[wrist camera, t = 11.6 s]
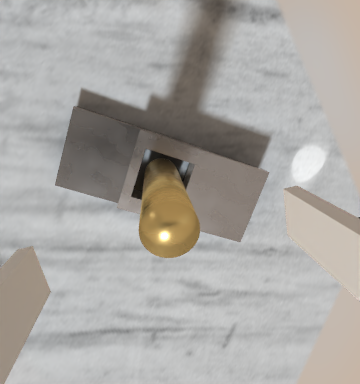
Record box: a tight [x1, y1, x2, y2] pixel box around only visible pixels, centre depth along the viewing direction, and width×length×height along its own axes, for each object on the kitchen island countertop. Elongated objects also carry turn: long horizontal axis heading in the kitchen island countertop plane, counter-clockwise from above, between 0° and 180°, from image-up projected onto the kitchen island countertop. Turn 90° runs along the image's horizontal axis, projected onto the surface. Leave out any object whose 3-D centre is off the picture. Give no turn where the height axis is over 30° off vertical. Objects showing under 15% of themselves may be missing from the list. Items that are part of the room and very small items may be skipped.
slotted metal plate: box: [55, 106, 269, 242], centre depth 30 cm, size 20×8×3 cm, turn 71°
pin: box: [139, 158, 200, 258], centre depth 24 cm, size 4×4×15 cm
